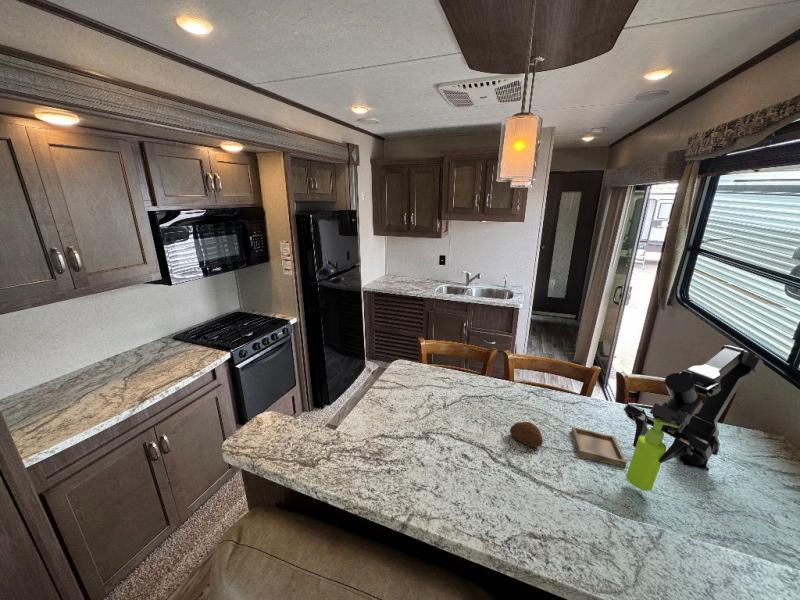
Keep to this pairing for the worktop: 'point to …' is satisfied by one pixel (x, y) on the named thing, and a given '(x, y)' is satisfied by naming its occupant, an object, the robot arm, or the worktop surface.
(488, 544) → the worktop surface
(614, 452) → the tray
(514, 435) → the potato
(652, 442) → the soap dispenser
